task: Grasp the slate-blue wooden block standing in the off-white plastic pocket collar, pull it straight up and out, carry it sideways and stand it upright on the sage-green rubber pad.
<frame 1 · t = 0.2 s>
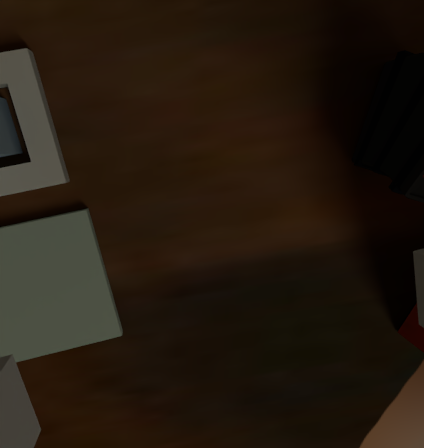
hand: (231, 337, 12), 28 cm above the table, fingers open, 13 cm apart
black slab: (374, 127, 40), on the table
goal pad: (38, 287, 38), on the table
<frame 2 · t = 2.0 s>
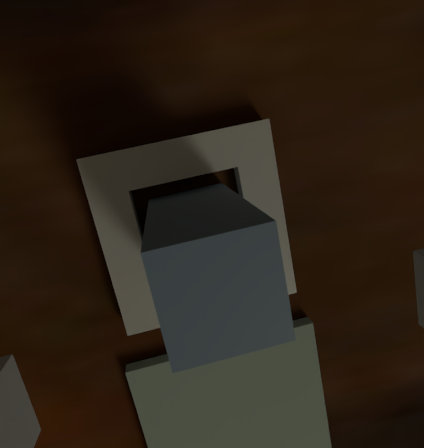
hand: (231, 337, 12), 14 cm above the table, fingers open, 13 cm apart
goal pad: (236, 416, 29), on the table
slate block: (203, 251, 20), in the pocket collar
pocket collar: (193, 226, 25), on the table
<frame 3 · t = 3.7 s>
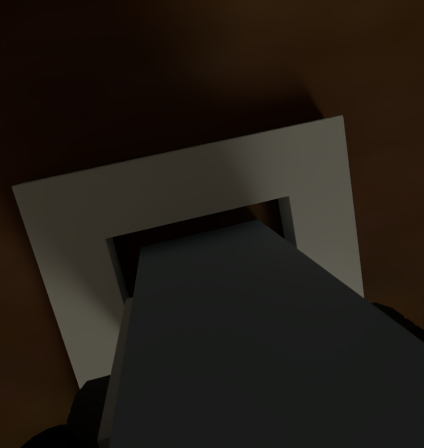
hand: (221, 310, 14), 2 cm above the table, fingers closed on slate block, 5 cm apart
slate block: (243, 369, 10), in the pocket collar, touching gripper
pocket collar: (212, 287, 16), on the table
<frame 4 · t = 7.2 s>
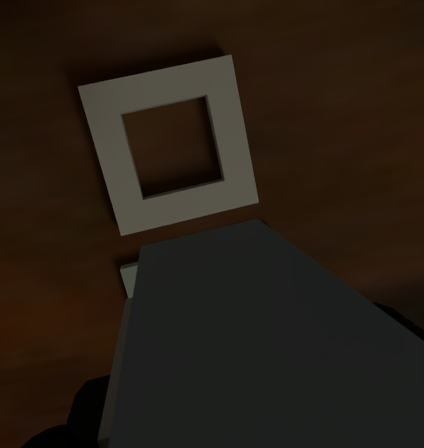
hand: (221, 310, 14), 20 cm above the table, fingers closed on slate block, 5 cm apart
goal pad: (213, 314, 35), on the table
slate block: (243, 368, 10), point 23 cm above the table, touching gripper
pocket collar: (173, 147, 31), on the table
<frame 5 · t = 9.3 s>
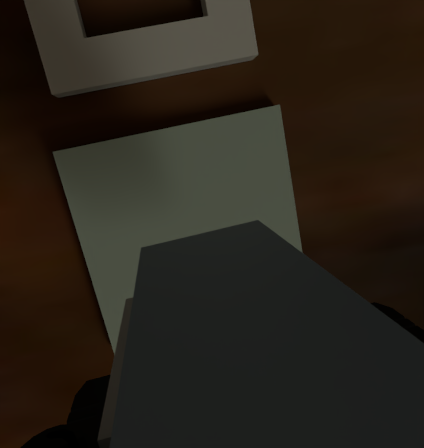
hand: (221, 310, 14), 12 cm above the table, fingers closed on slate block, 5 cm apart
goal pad: (192, 233, 25), on the table
slate block: (244, 371, 10), point 15 cm above the table, touching gripper
when the fingers open (4 cm above the table, at t = 10.9 s): slate block stays where it is, resting on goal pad.
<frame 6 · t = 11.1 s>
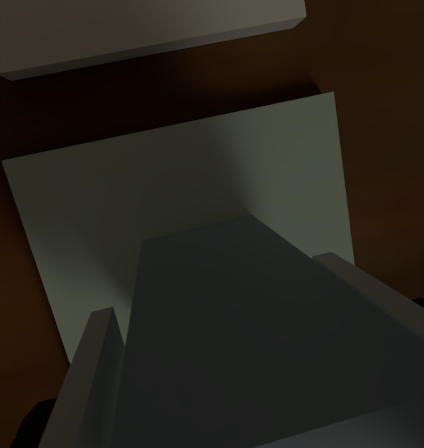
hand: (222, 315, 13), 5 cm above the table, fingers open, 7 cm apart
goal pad: (206, 272, 18), on the table
slate block: (236, 350, 11), on the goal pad, point 7 cm above the table
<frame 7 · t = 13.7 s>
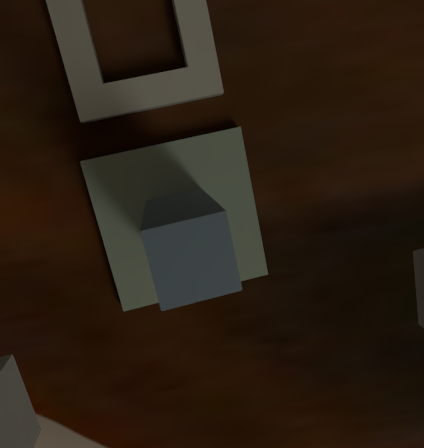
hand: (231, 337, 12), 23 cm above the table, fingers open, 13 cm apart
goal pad: (179, 219, 34), on the table
slate block: (185, 237, 27), on the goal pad, point 7 cm above the table
pocket collar: (135, 34, 30), on the table
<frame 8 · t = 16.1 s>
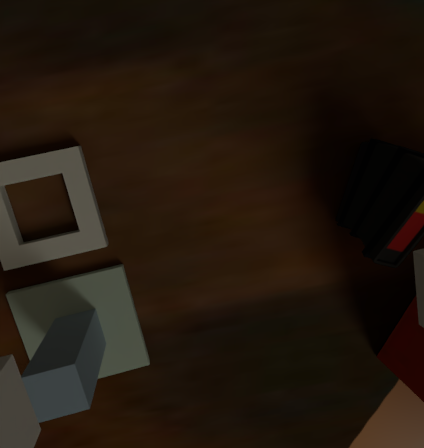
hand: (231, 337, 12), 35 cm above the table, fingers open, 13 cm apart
black slab: (353, 192, 49), on the table
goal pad: (82, 327, 47), on the table
slate block: (70, 358, 40), on the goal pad, point 7 cm above the table
pocket collar: (44, 207, 43), on the table
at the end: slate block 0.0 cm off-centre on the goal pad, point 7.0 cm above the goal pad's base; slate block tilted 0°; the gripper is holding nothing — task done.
